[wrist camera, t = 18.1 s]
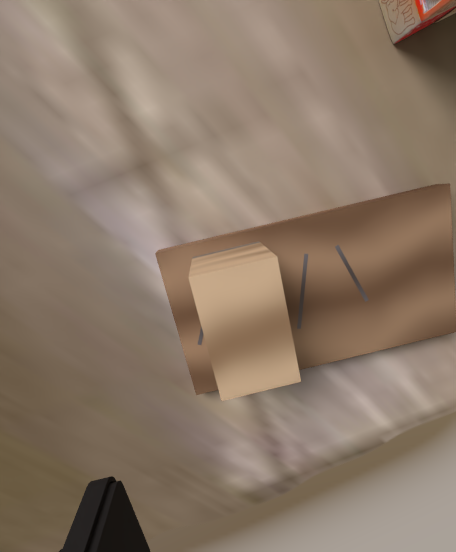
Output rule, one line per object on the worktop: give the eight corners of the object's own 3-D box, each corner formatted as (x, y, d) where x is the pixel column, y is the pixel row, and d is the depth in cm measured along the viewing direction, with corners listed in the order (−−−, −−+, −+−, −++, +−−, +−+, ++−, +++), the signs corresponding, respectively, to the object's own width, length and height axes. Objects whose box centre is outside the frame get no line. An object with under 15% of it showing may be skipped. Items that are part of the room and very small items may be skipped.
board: (158, 250, 25) (155, 253, 23) (435, 184, 25) (450, 183, 23) (196, 384, 28) (196, 395, 26) (443, 324, 28) (457, 331, 26)
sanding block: (192, 257, 23) (188, 277, 18) (259, 241, 23) (277, 256, 18) (217, 353, 25) (221, 401, 20) (279, 339, 25) (301, 381, 20)
